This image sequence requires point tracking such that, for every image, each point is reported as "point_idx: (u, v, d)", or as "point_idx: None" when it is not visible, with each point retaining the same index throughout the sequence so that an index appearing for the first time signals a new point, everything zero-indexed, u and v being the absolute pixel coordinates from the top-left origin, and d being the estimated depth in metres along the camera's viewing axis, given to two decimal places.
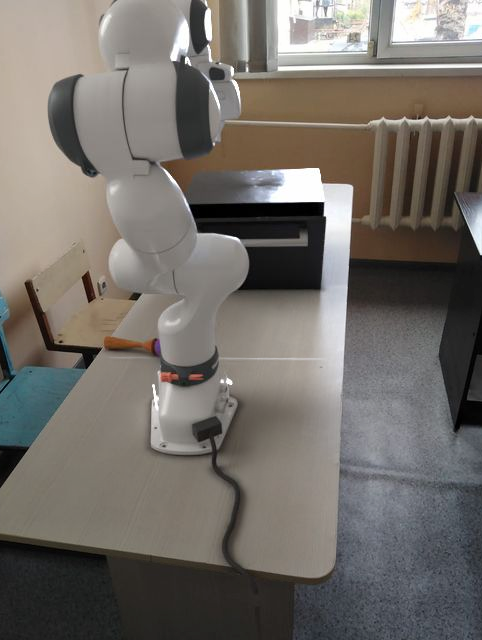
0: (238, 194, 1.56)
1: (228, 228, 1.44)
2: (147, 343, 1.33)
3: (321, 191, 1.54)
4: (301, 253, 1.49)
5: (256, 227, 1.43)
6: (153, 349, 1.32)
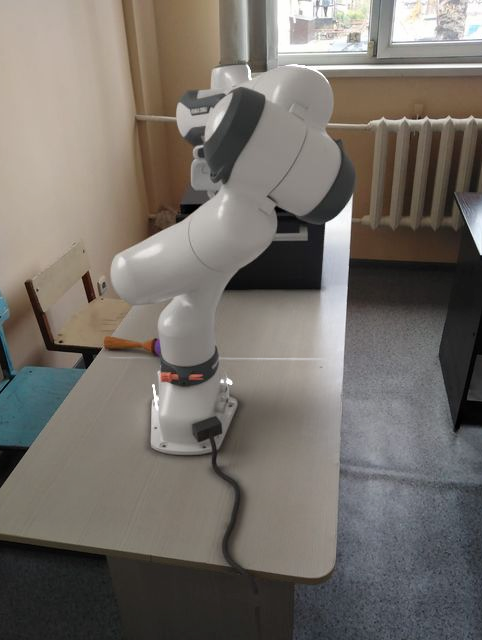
0: None
1: None
2: (147, 343, 1.33)
3: None
4: (301, 250, 1.50)
5: None
6: (153, 349, 1.32)
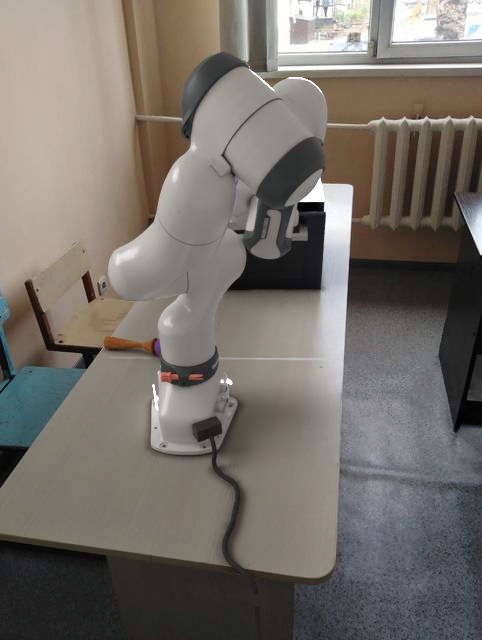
0: None
1: None
2: (147, 343, 1.33)
3: (321, 191, 1.54)
4: (301, 250, 1.50)
5: None
6: (153, 349, 1.32)
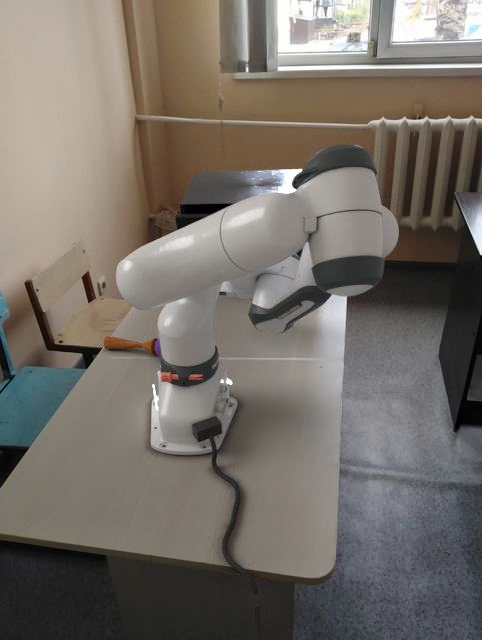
0: (238, 194, 1.56)
1: None
2: (147, 343, 1.33)
3: None
4: (301, 250, 1.50)
5: None
6: (153, 349, 1.32)
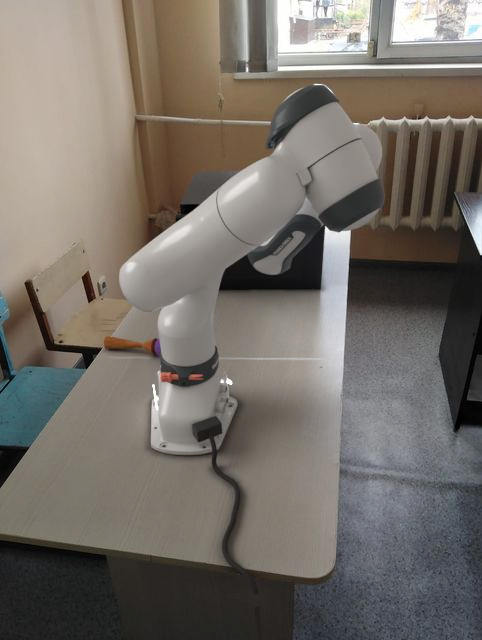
0: None
1: None
2: (147, 343, 1.33)
3: None
4: (301, 250, 1.50)
5: None
6: (153, 349, 1.32)
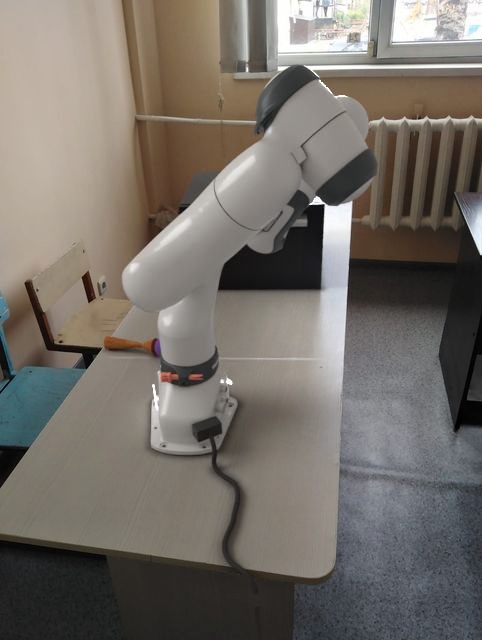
0: None
1: None
2: (147, 343, 1.33)
3: None
4: (301, 243, 1.52)
5: None
6: (153, 349, 1.32)
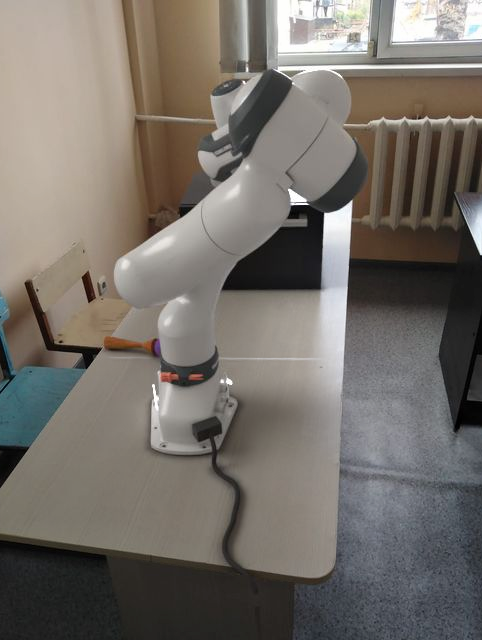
0: None
1: None
2: (147, 343, 1.33)
3: None
4: (301, 243, 1.52)
5: None
6: (153, 349, 1.32)
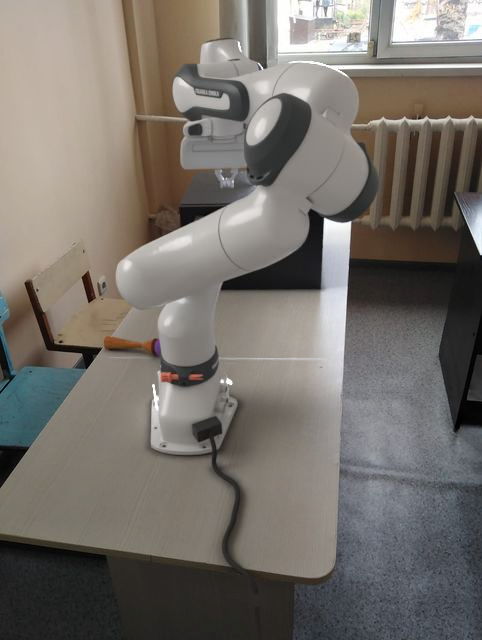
0: (238, 194, 1.56)
1: None
2: (147, 343, 1.33)
3: None
4: None
5: None
6: (153, 349, 1.32)
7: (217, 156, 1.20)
